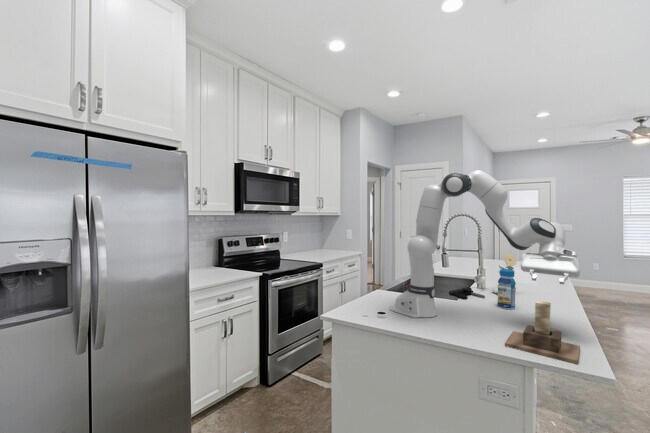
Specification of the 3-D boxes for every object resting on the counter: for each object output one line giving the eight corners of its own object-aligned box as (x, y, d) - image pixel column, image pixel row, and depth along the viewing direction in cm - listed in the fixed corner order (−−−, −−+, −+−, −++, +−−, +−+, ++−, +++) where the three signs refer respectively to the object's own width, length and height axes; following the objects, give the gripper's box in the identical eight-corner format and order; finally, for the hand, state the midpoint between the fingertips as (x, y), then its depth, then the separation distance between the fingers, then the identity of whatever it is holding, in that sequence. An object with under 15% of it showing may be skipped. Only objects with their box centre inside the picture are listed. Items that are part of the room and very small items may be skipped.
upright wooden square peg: (534, 339, 123) (535, 302, 122) (535, 336, 125) (536, 300, 125) (548, 342, 120) (549, 304, 119) (549, 339, 123) (550, 302, 122)
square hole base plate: (504, 346, 124) (505, 330, 123) (513, 333, 136) (513, 319, 136) (578, 364, 109) (578, 346, 109) (579, 348, 122) (580, 333, 122)
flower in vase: (493, 295, 196) (494, 254, 195) (490, 290, 207) (491, 251, 206) (518, 297, 192) (519, 255, 192) (513, 292, 203) (514, 252, 202)
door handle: (490, 293, 193) (466, 285, 207) (470, 298, 182) (446, 289, 196) (490, 298, 193) (466, 290, 207) (470, 303, 183) (445, 295, 196)
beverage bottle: (518, 310, 168) (519, 271, 167) (502, 309, 168) (503, 271, 167) (509, 305, 176) (510, 268, 176) (493, 305, 176) (494, 268, 176)
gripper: (521, 248, 144) (517, 273, 136) (580, 252, 130) (579, 280, 123) (523, 257, 147) (518, 282, 140) (580, 262, 134) (579, 290, 127)
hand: (547, 281), depth 131 cm, fingers open, 8 cm apart
